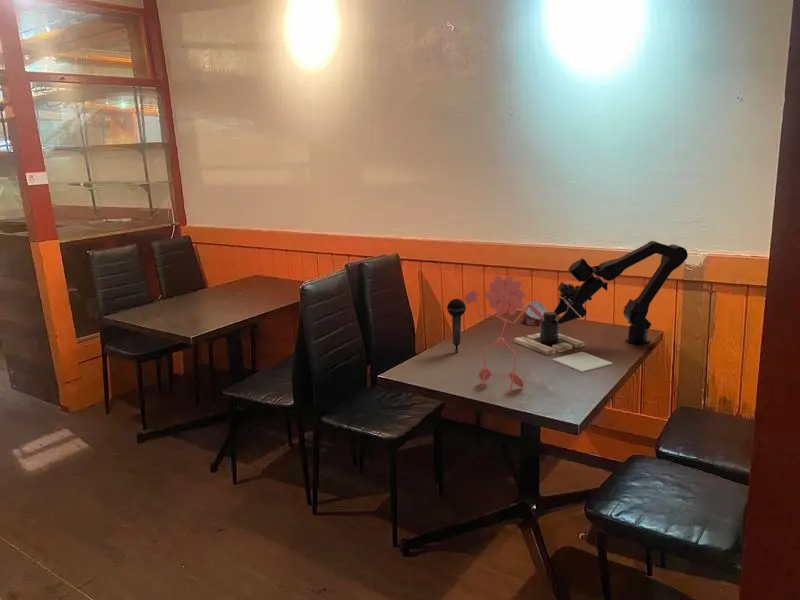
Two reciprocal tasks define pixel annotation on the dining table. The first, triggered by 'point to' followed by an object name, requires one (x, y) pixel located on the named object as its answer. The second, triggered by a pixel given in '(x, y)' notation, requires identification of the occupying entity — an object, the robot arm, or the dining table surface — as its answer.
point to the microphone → (456, 319)
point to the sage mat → (582, 361)
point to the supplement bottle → (549, 329)
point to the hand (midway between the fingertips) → (555, 319)
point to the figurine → (504, 299)
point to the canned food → (533, 314)
